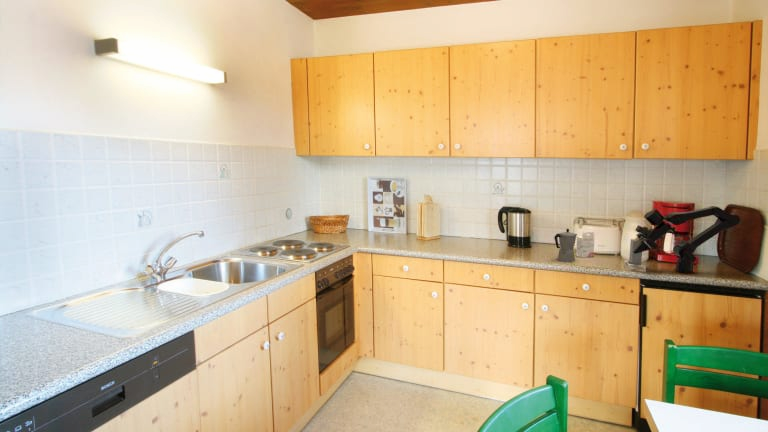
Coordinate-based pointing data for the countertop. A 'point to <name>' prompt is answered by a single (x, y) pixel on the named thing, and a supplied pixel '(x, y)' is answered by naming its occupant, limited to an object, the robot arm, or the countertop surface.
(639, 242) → the block
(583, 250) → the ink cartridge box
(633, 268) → the rail dock
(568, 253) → the coffeepot
